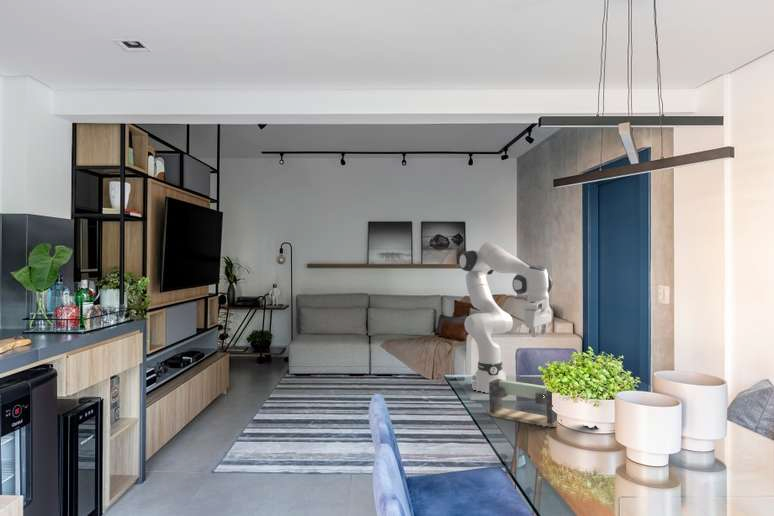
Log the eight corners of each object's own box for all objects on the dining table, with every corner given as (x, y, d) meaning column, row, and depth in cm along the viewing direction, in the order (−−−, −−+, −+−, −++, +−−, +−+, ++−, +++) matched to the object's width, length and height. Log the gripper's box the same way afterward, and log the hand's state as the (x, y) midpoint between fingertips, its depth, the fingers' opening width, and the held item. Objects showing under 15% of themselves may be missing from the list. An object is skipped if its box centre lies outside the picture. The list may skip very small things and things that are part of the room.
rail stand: (487, 415, 212) (486, 382, 212) (496, 410, 218) (495, 378, 218) (554, 428, 193) (553, 392, 193) (562, 422, 199) (561, 387, 199)
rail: (499, 393, 211) (499, 381, 211) (502, 391, 213) (502, 379, 213) (545, 400, 198) (544, 388, 198) (548, 398, 200) (547, 386, 200)
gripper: (541, 301, 226) (541, 331, 226) (521, 305, 210) (522, 338, 211) (554, 301, 222) (555, 332, 222) (535, 306, 206) (536, 339, 206)
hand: (539, 335), depth 216 cm, fingers open, 8 cm apart
